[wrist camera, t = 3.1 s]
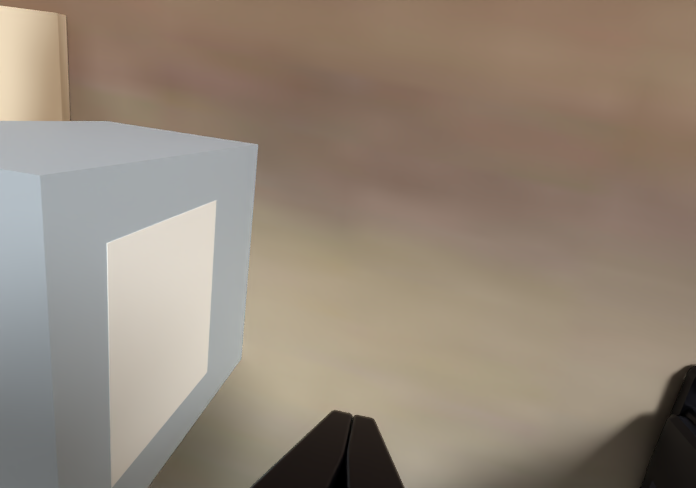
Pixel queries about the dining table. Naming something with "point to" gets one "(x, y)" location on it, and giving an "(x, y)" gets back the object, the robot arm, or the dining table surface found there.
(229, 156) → the light blue rectangular block
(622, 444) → the dining table surface
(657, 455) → the robot arm
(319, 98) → the dining table surface
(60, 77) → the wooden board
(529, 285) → the dining table surface
